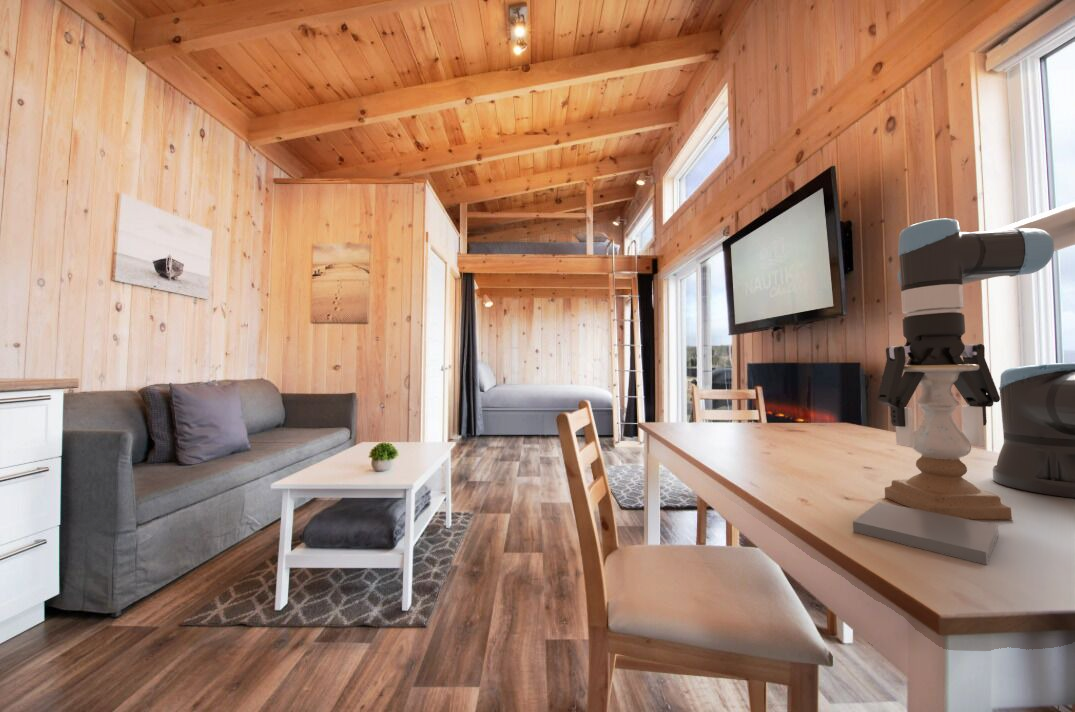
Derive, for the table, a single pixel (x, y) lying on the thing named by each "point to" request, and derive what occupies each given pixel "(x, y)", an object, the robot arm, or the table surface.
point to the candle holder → (943, 455)
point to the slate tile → (929, 531)
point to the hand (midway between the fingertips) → (939, 445)
